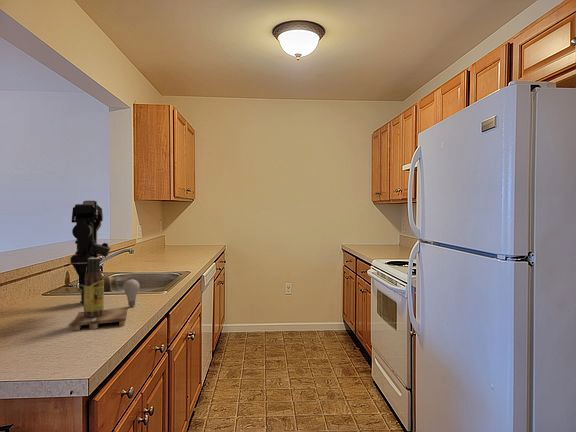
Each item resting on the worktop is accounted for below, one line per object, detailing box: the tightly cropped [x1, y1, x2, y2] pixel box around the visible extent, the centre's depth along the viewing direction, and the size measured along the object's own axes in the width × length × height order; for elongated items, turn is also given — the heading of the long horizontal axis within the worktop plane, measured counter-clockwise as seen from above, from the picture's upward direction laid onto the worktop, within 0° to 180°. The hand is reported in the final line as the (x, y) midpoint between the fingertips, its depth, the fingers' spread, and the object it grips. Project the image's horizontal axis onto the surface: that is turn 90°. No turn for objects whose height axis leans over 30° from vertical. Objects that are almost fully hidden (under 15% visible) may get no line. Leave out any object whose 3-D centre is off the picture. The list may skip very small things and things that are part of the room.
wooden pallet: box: [71, 307, 128, 331], centre depth 137 cm, size 16×14×2 cm
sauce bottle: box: [83, 257, 105, 317], centre depth 136 cm, size 6×6×20 cm
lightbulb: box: [122, 278, 141, 308], centre depth 159 cm, size 6×6×11 cm
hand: (85, 279), depth 148 cm, fingers open, 9 cm apart
